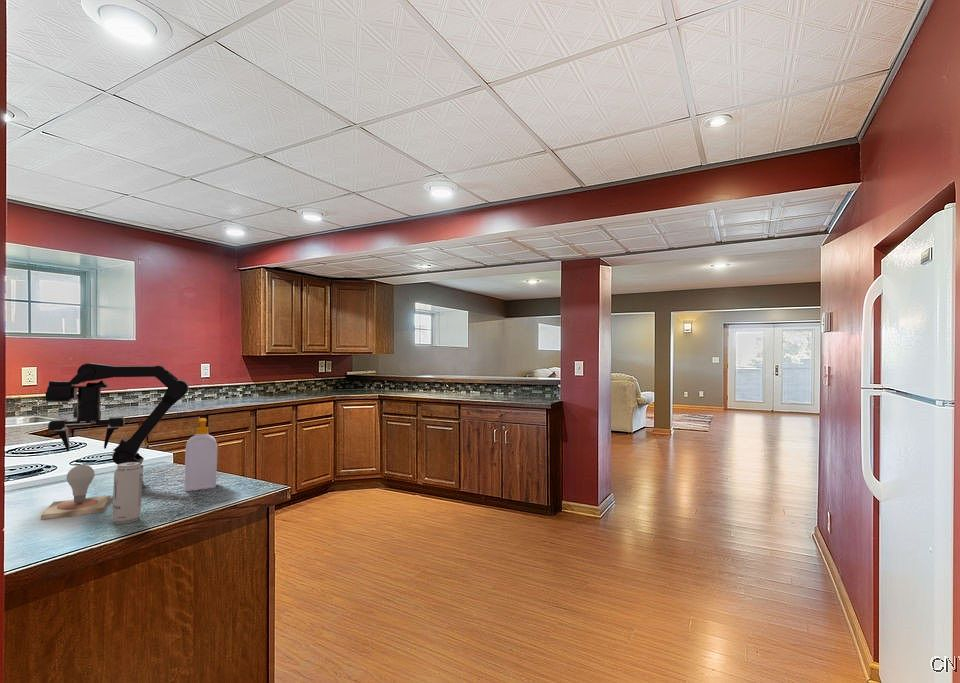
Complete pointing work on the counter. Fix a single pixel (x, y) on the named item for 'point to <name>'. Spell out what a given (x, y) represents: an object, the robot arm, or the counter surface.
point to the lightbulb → (80, 481)
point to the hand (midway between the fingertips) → (86, 449)
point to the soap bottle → (200, 460)
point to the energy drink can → (127, 492)
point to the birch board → (75, 507)
